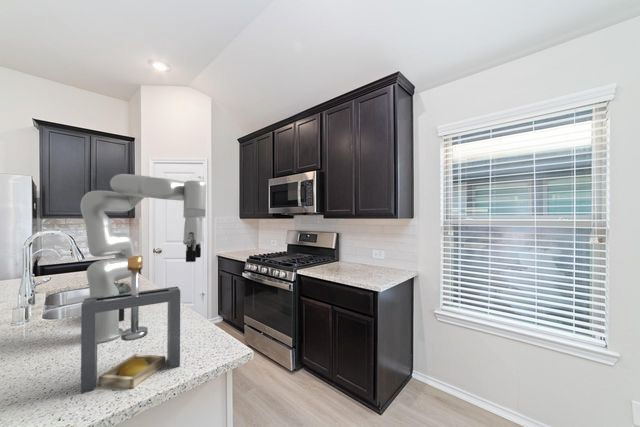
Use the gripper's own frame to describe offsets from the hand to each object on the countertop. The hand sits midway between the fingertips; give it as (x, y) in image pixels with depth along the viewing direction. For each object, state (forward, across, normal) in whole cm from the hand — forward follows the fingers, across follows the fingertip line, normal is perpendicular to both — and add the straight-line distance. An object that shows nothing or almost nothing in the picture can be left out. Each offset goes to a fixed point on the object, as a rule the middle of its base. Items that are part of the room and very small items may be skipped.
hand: (193, 259), depth 103 cm
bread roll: (+34, +13, -14) cm, 39 cm away
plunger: (+22, +13, -14) cm, 29 cm away
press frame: (+34, +13, -14) cm, 39 cm away
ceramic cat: (+35, -43, -44) cm, 71 cm away
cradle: (+34, +13, -14) cm, 39 cm away
